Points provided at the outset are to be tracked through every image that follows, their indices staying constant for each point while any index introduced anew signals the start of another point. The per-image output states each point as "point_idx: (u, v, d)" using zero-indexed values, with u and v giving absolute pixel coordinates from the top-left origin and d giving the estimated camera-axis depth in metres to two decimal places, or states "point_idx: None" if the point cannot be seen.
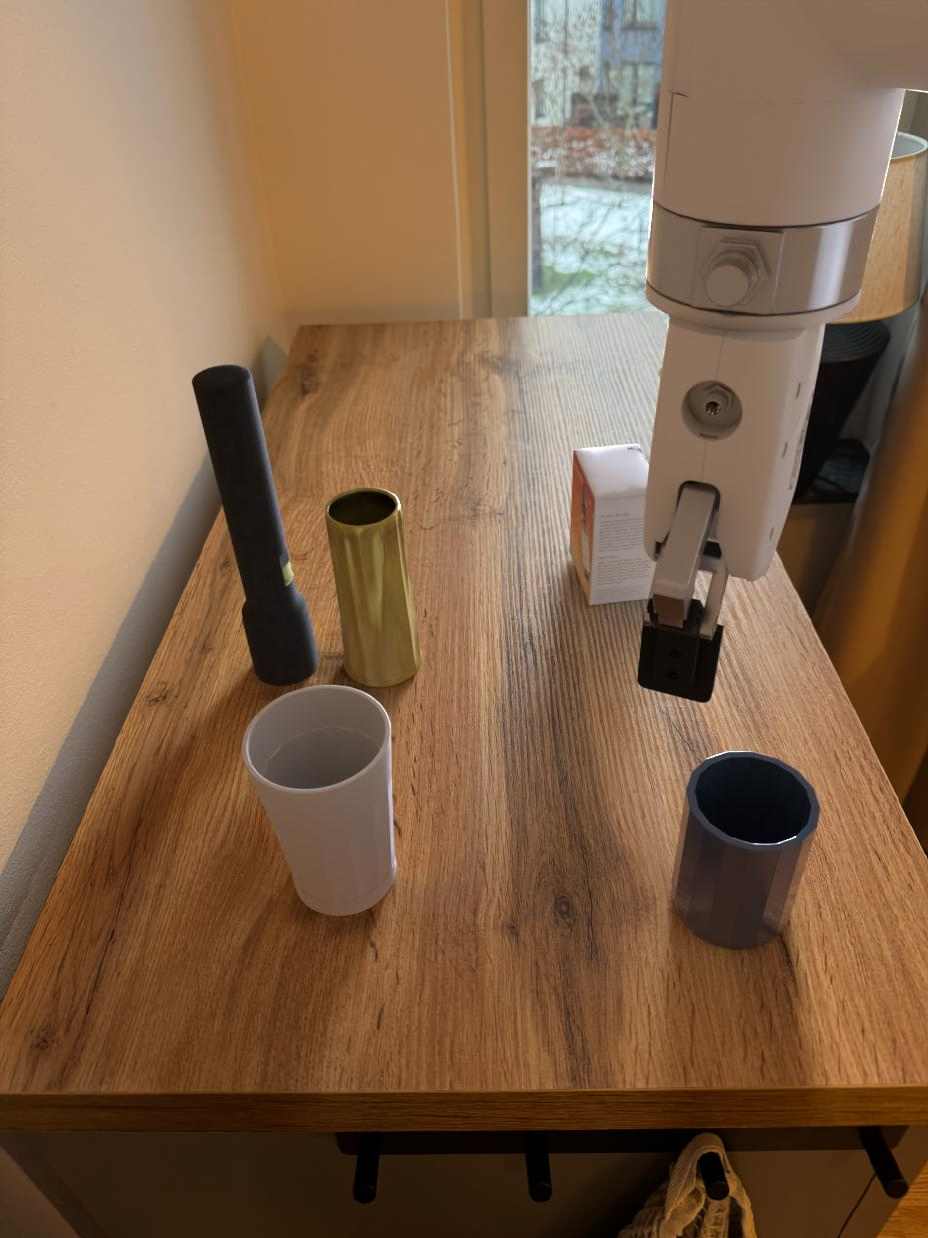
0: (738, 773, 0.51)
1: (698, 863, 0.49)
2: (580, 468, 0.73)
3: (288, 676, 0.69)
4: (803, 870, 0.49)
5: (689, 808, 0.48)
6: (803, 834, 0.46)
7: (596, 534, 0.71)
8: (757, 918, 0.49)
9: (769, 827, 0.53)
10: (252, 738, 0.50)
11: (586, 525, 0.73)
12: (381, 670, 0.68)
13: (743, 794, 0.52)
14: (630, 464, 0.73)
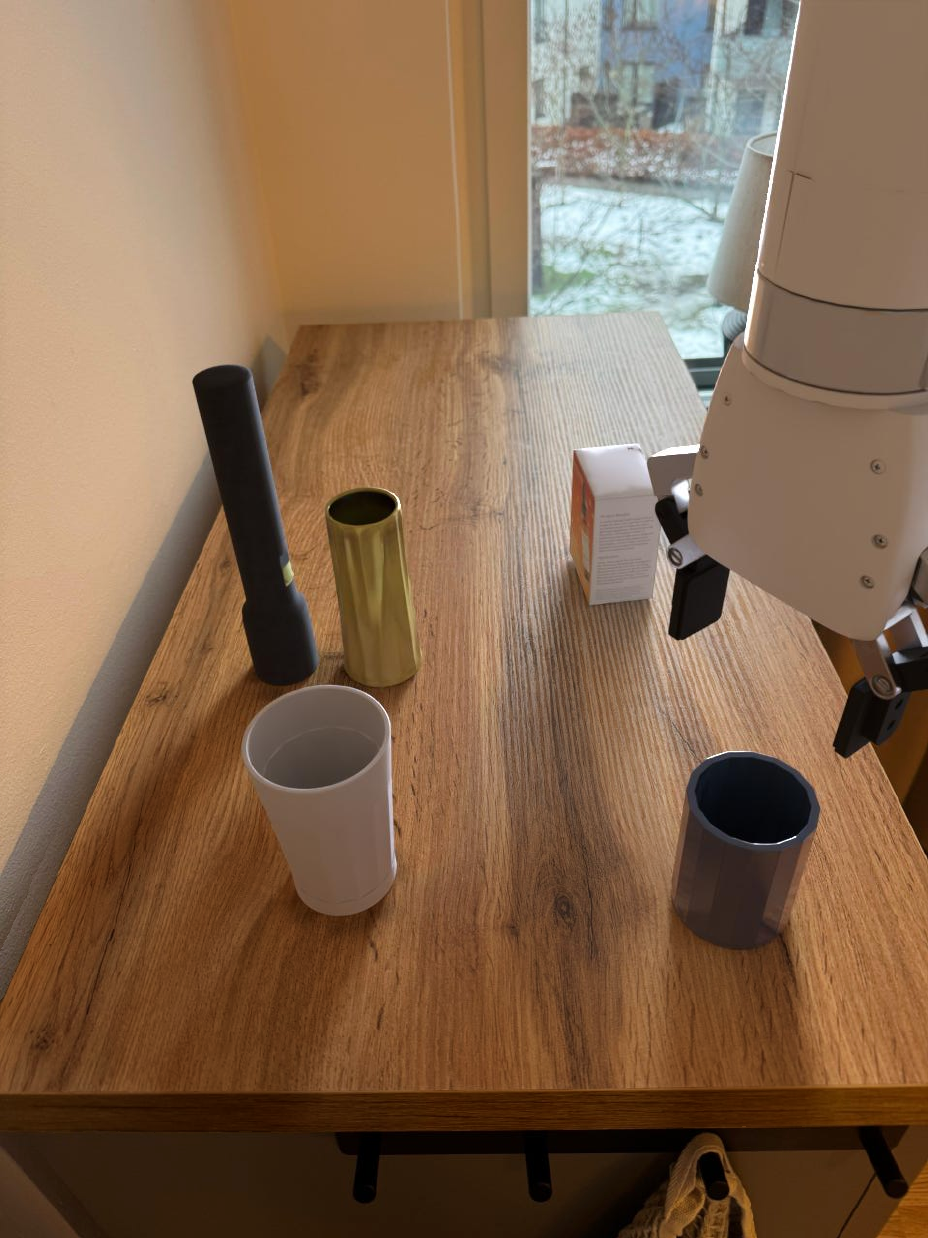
0: (738, 773, 0.51)
1: (698, 863, 0.49)
2: (580, 468, 0.73)
3: (288, 676, 0.69)
4: (803, 870, 0.49)
5: (689, 808, 0.48)
6: (803, 834, 0.46)
7: (596, 534, 0.71)
8: (757, 918, 0.49)
9: (769, 827, 0.53)
10: (252, 738, 0.50)
11: (586, 525, 0.73)
12: (381, 670, 0.68)
13: (743, 794, 0.52)
14: (630, 464, 0.73)
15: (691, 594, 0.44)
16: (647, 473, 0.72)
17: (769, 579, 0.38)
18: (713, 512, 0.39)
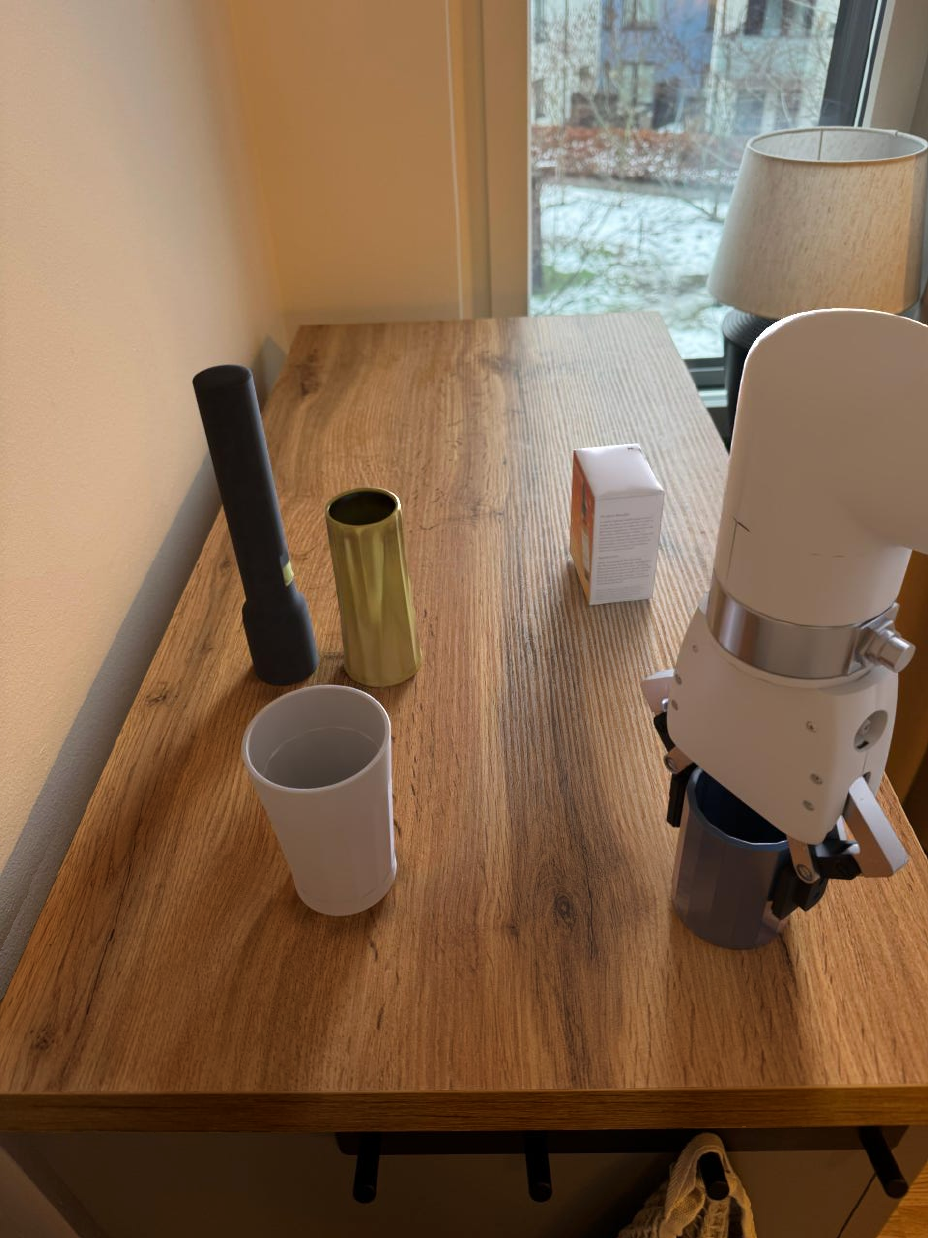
0: None
1: (698, 863, 0.49)
2: (580, 468, 0.73)
3: (288, 676, 0.69)
4: None
5: (689, 808, 0.48)
6: None
7: (596, 534, 0.71)
8: (757, 918, 0.49)
9: (769, 827, 0.53)
10: (252, 738, 0.50)
11: (586, 525, 0.73)
12: (381, 670, 0.68)
13: None
14: (630, 464, 0.73)
15: None
16: (647, 473, 0.72)
17: (733, 785, 0.45)
18: (687, 725, 0.46)
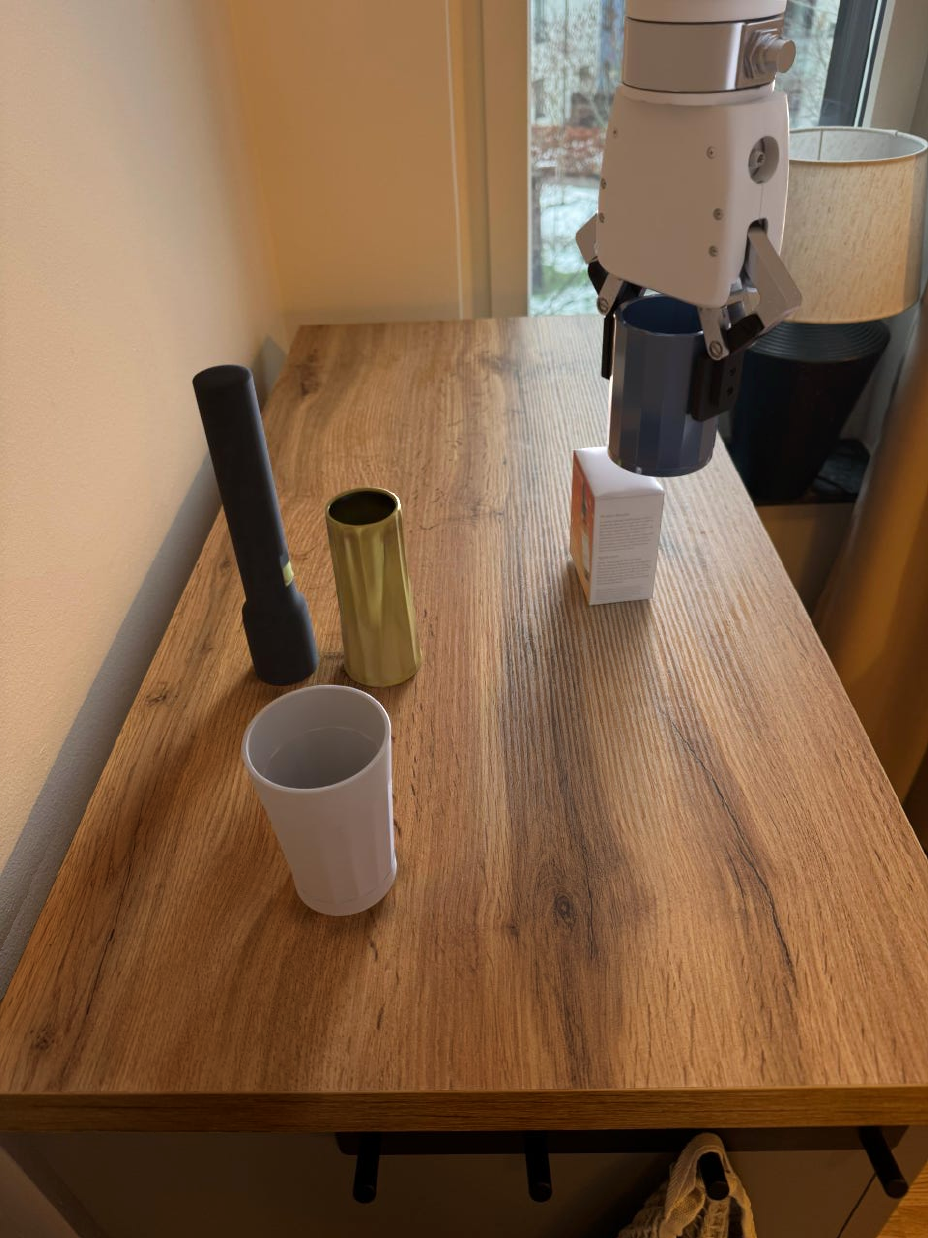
0: (664, 318, 0.57)
1: (625, 377, 0.54)
2: (580, 468, 0.73)
3: (288, 676, 0.69)
4: None
5: (616, 321, 0.53)
6: None
7: (596, 534, 0.71)
8: (679, 432, 0.55)
9: None
10: (252, 738, 0.50)
11: (586, 525, 0.73)
12: (381, 670, 0.68)
13: None
14: None
15: None
16: None
17: (652, 276, 0.51)
18: (612, 231, 0.52)
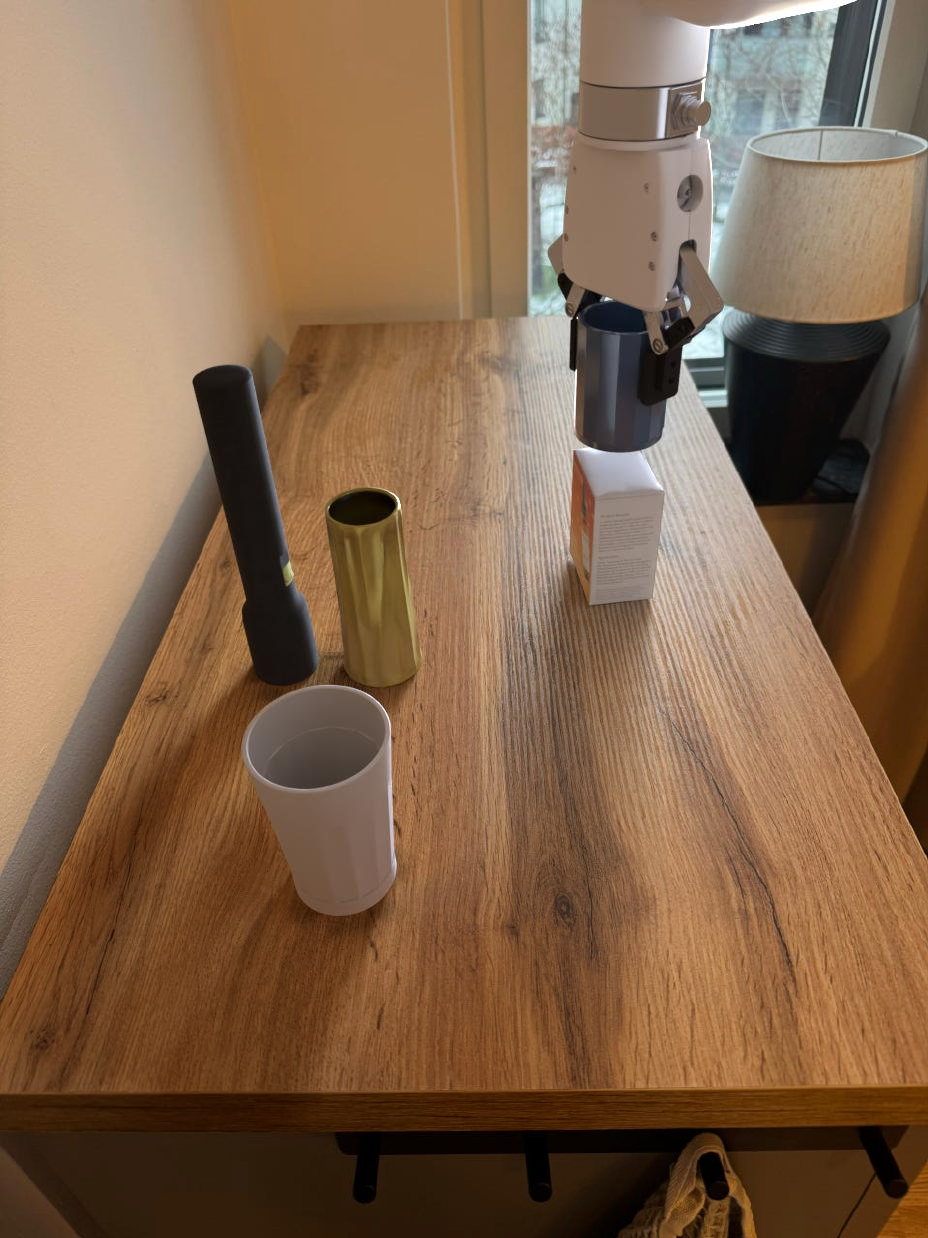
0: (621, 319, 0.68)
1: (586, 369, 0.65)
2: (580, 468, 0.73)
3: (288, 676, 0.69)
4: None
5: (578, 322, 0.64)
6: None
7: (595, 534, 0.71)
8: (631, 414, 0.66)
9: None
10: (252, 738, 0.50)
11: (586, 525, 0.73)
12: (381, 670, 0.68)
13: None
14: (630, 464, 0.73)
15: None
16: (647, 473, 0.72)
17: (606, 285, 0.62)
18: (574, 248, 0.63)
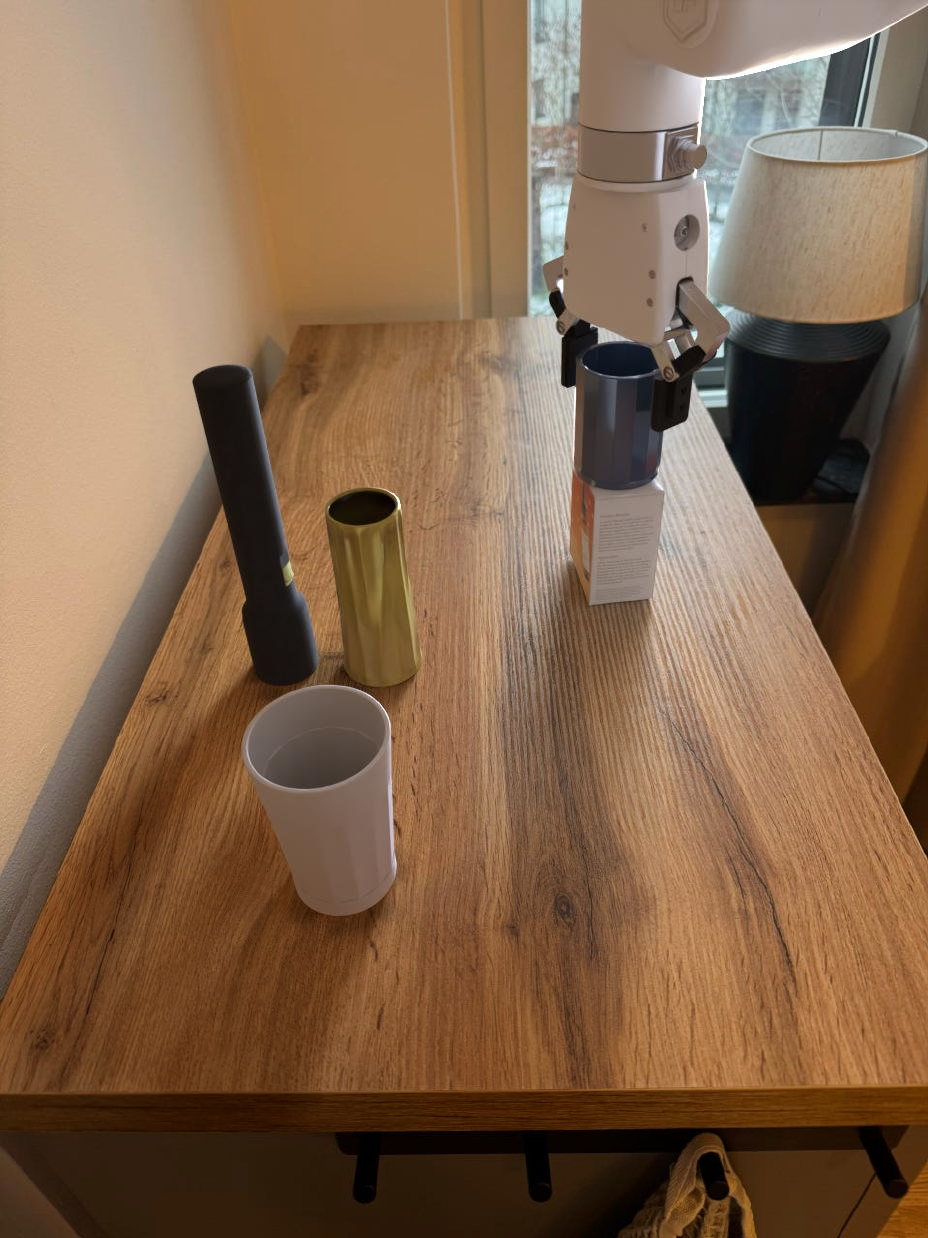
0: (618, 360, 0.70)
1: (584, 410, 0.67)
2: None
3: (288, 676, 0.69)
4: None
5: (576, 365, 0.66)
6: (655, 371, 0.65)
7: (595, 534, 0.71)
8: (628, 453, 0.68)
9: None
10: (252, 738, 0.50)
11: (586, 525, 0.73)
12: (381, 670, 0.68)
13: None
14: None
15: (572, 351, 0.69)
16: None
17: (606, 319, 0.63)
18: (574, 283, 0.64)
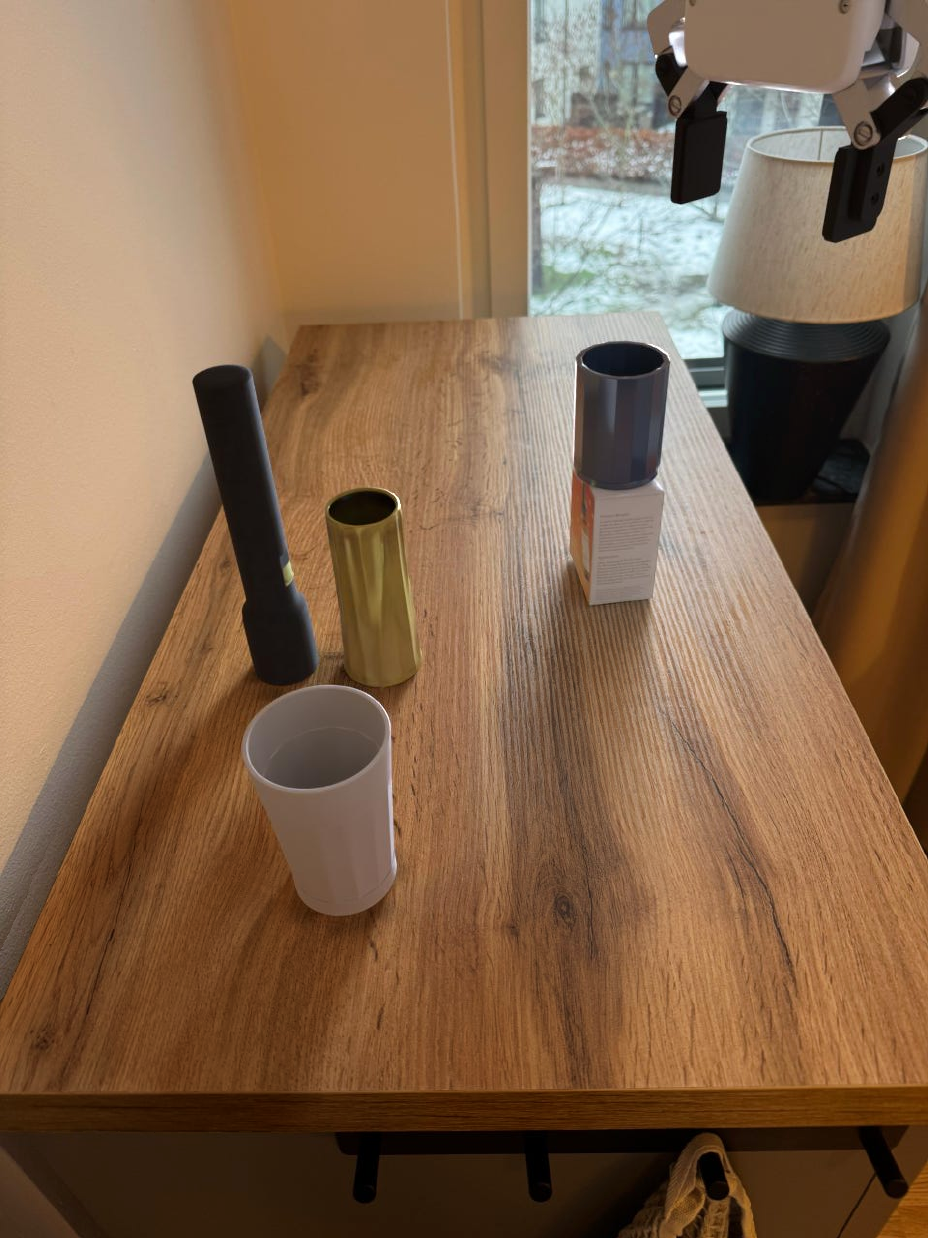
0: (618, 360, 0.70)
1: (584, 410, 0.67)
2: None
3: (288, 676, 0.69)
4: (661, 416, 0.67)
5: (576, 365, 0.66)
6: (655, 371, 0.65)
7: (595, 534, 0.71)
8: (628, 453, 0.68)
9: None
10: (252, 738, 0.50)
11: (586, 525, 0.73)
12: (381, 670, 0.68)
13: None
14: None
15: (690, 143, 0.47)
16: None
17: (758, 62, 0.41)
18: (706, 13, 0.42)
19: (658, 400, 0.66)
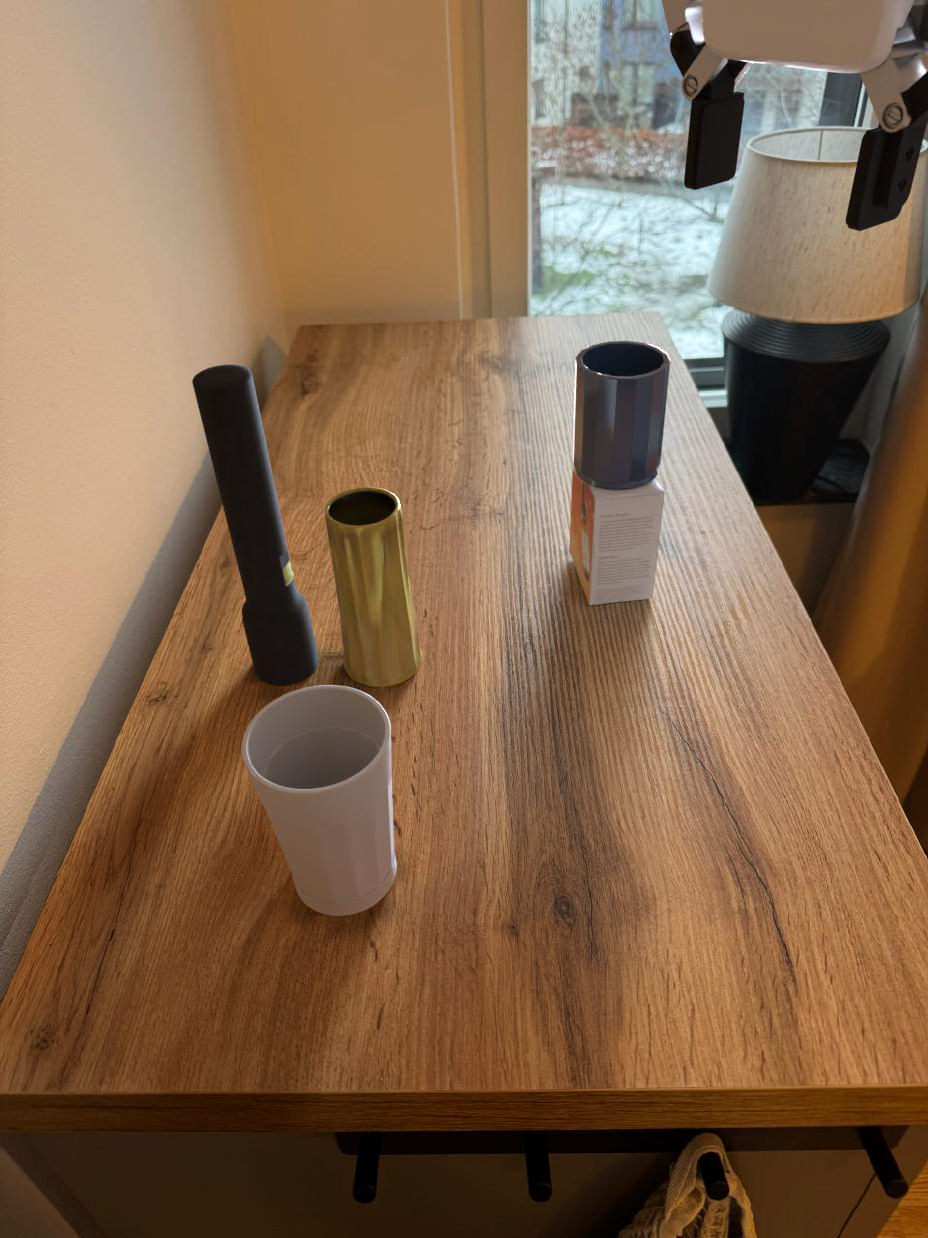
0: (618, 360, 0.70)
1: (584, 410, 0.67)
2: None
3: (288, 676, 0.69)
4: (661, 416, 0.67)
5: (576, 365, 0.66)
6: (655, 371, 0.65)
7: (595, 534, 0.71)
8: (628, 453, 0.68)
9: None
10: (252, 738, 0.50)
11: (586, 525, 0.73)
12: (381, 670, 0.68)
13: None
14: None
15: (706, 125, 0.45)
16: None
17: (782, 39, 0.39)
18: None
19: (658, 400, 0.66)
